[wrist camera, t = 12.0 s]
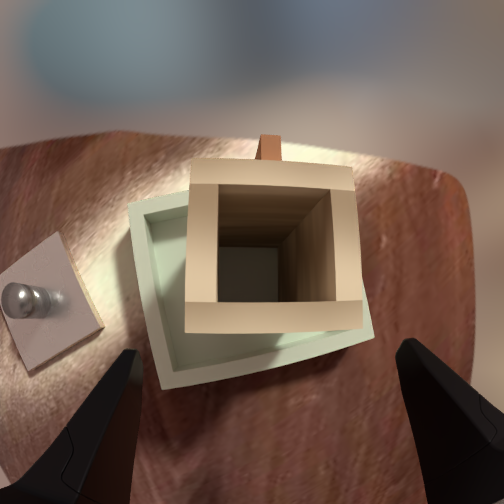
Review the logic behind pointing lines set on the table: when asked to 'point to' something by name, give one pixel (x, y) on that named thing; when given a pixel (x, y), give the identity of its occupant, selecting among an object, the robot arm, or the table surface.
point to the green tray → (230, 290)
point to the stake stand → (47, 302)
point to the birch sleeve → (274, 242)
